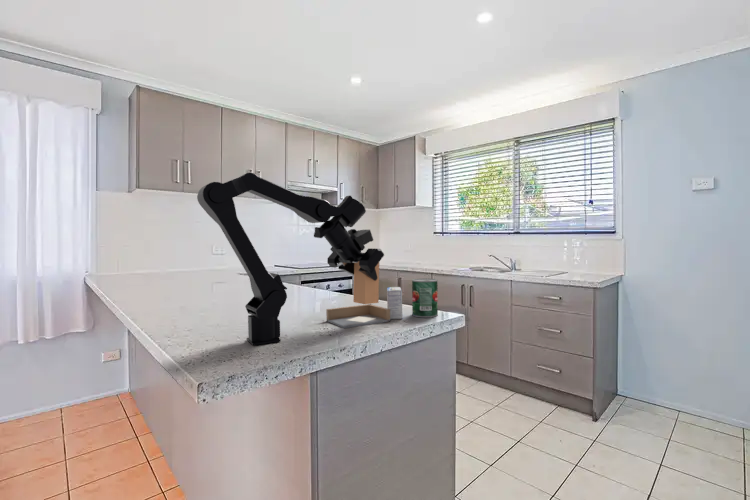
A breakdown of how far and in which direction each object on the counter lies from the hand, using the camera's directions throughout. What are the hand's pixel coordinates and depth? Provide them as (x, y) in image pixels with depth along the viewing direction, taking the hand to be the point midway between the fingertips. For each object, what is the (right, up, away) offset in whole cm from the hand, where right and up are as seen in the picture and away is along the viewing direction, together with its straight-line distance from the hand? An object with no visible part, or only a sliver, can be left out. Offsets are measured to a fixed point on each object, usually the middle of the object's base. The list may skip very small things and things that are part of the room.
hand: (370, 278), depth 114 cm
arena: (-4, -12, +2) cm, 13 cm away
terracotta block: (-1, -7, -1) cm, 7 cm away
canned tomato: (+17, -12, +10) cm, 23 cm away
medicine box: (+7, -12, +8) cm, 17 cm away
